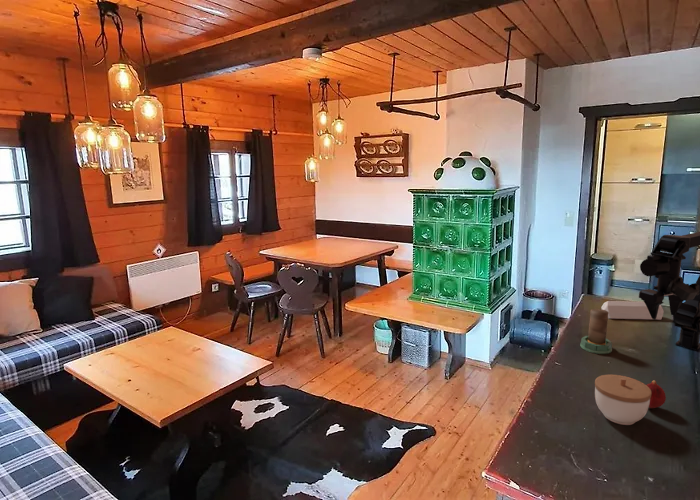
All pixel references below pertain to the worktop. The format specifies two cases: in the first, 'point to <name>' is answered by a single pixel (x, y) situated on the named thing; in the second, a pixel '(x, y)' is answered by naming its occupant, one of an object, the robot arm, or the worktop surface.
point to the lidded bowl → (622, 398)
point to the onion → (656, 395)
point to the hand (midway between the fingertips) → (663, 317)
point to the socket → (596, 346)
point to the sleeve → (598, 326)
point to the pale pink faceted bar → (629, 310)
